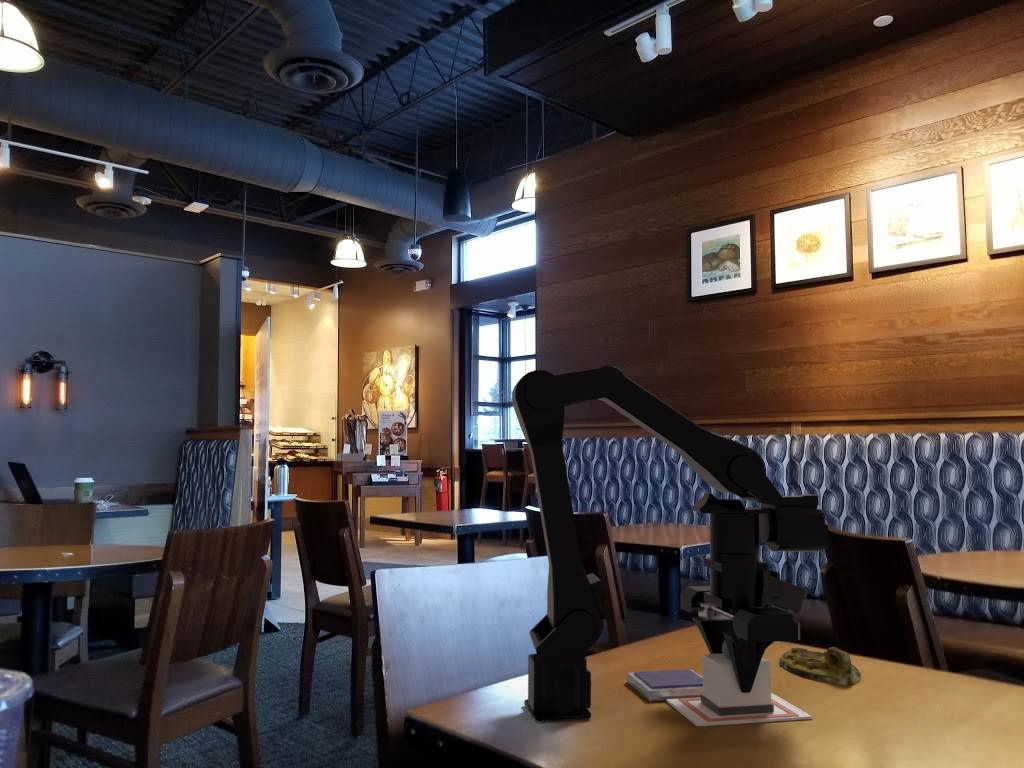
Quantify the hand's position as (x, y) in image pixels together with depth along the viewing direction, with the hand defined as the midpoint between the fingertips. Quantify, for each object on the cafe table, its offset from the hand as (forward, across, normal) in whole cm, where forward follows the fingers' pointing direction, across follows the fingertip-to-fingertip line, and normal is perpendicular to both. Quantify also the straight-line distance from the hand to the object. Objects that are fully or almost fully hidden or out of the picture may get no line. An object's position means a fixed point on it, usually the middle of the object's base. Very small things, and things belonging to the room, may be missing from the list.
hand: (736, 686), depth 93 cm
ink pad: (+3, +9, +4) cm, 10 cm away
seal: (+3, +14, -20) cm, 25 cm away
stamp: (+2, 0, 0) cm, 2 cm away
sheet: (+3, 0, 0) cm, 3 cm away
